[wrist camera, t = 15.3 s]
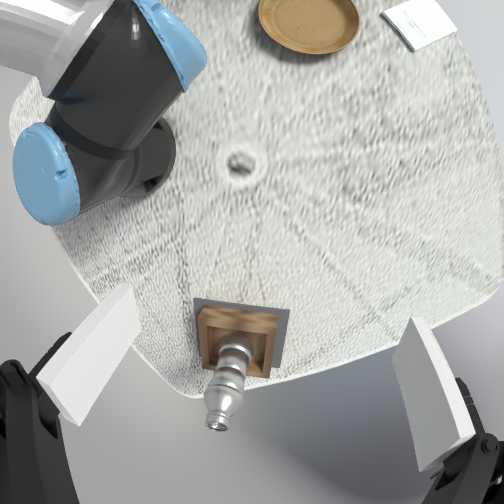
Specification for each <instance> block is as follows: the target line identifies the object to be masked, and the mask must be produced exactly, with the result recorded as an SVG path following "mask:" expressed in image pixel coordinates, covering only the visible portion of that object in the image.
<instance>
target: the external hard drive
mask: <svg viewBox="0 0 504 504" xmlns="http://www.w3.org/2000/svg"><path fill="white" fill-rule="evenodd" d="M382 15H383V16H384V17H385V18H386V19H387V20H388V21H389V22H390V23H391V24H392V26H393V27H394V28H395V29H397V30H398V31H399V33H400V34H401V36H402V37H403V39H404V40H405V41H406V42H407V44H408V45H409V46H410V47H411V49H412V50H413V51H414V52H415V51H417V50H419V49H421V48H423V47H425V46H427V45H429V44H431V43H433V42H435V41H437V40H439V39H441V38H443V37H445V36H447V35H449V34H451V33H453V32H455V31H457V29H456V27H455V25H454V24H453V23H452V21H451V20H450V19H449V18H448V16H447V15H446V14H445V12H444V11H443V10H442V9H441V8H440V6H439V5H438V4H437V3H436V2H435V1H434V0H410V1H407V2H404V3H402V4H399V5H397V6H395V7H392V8H390V9H388V10H385V11H383V12H382Z"/></svg>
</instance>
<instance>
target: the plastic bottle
mask: <svg viewBox="0 0 504 504" xmlns="http://www.w3.org/2000/svg"><path fill="white" fill-rule="evenodd" d="M253 354H254V346H253V343H252V342H251V341H250V339H249V338H248V337H246V336H245V335H243V334H238V333H234V334H230V335H227V336H226V337H225V338H224V339H223V341H222V342H221V344H220V349H219V359H218V364H217V367H216V370H215V372H214V375H213V377H212V379H211V381H210V383H209V385H208V387H207V389H206V390H205V393H204V402H205V405H206V407H207V409H208V411H209V412H208V413H207V415H206V421H205V425H206V426H207V427H208V428H209V429H211V430H214V431H217V432H226V431H228V430H229V426H230V423H231V417H232V416H233V415H235V414H236V413H237V412H238V411H240V409H241V408H242V406H243V402H244V384H245V377H246V372H247V369H248V366H249V364H250V362H251V360H252V357H253Z"/></svg>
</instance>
